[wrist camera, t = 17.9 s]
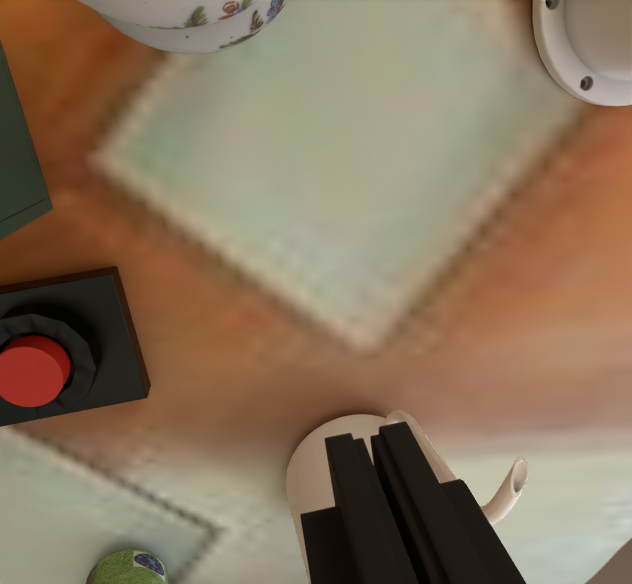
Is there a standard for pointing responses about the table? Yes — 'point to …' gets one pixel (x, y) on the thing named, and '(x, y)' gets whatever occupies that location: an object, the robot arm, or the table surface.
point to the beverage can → (129, 569)
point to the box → (17, 162)
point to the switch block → (77, 340)
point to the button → (33, 371)
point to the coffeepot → (314, 476)
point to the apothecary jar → (188, 21)
